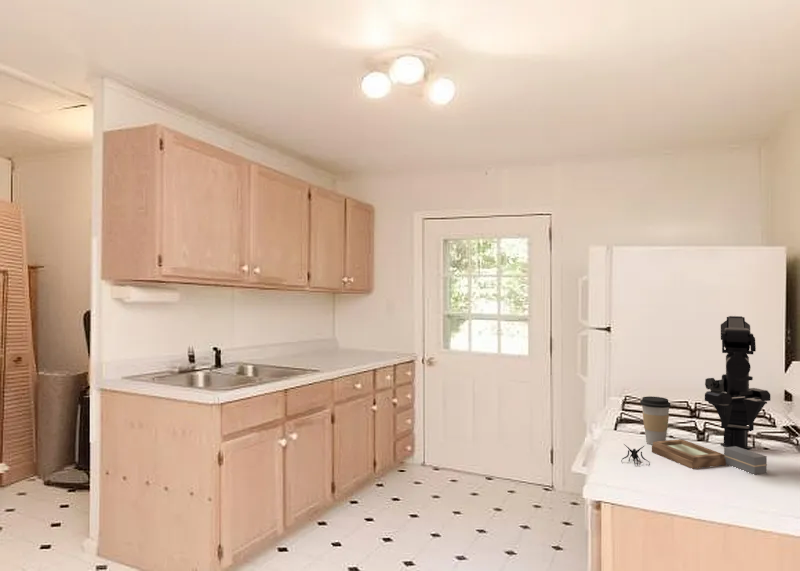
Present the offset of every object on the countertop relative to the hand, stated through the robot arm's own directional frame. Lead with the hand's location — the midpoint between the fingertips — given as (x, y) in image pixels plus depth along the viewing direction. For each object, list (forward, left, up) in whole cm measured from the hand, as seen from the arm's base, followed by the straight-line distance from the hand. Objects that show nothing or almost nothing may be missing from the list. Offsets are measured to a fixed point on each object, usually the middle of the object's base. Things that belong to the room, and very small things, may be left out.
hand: (737, 425), depth 157 cm
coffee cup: (+6, -27, -12) cm, 30 cm away
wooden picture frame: (+8, -11, -12) cm, 18 cm away
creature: (+26, -11, -12) cm, 31 cm away
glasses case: (-1, +1, -12) cm, 13 cm away
